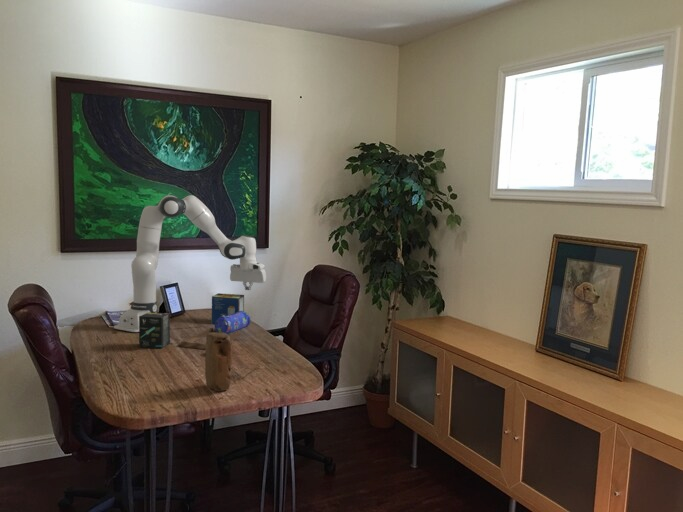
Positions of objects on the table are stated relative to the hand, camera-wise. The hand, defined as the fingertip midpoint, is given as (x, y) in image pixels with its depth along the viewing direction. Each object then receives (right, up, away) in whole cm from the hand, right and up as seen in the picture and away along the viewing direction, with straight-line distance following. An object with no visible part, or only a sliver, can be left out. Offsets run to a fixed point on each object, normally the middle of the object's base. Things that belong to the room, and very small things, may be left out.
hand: (247, 290), depth 306 cm
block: (+6, -30, -102) cm, 106 cm away
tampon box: (-35, -23, -49) cm, 64 cm away
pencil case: (-5, -21, -15) cm, 26 cm away
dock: (-11, -22, -37) cm, 44 cm away
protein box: (-11, -19, +1) cm, 22 cm away
